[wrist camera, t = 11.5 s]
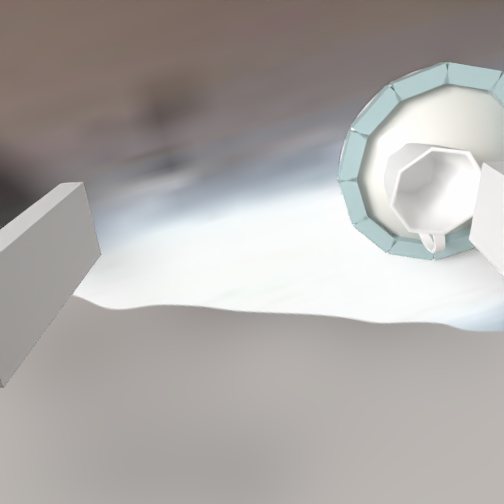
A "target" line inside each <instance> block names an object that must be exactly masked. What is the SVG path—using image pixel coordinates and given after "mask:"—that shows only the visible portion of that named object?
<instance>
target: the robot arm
mask: <svg viewBox="0 0 504 504" xmlns="http://www.w3.org/2000/svg"><path fill="white" fill-rule="evenodd" d="M469 240H470V242H471V243H472V244H473V245H474V246H475V247H476V248H477V249H478V250H479V251H480V252H481V253H482V254H483V255H484V256H485V257H486V259H487V260H488V261H489V262H490V263H491V264H492V265H493V266H494V267H495V268H496V269H497V270H498V271H499V272H500V273H501V274H502V276H503V277H504V161H497V162H483V165H482V170H481V176H480V181H479V187H478V192H477V198H476V203H475V208H474V214H473V219H472V225H471V230H470V236H469ZM100 255H101V252H100V248H99V244H98V240H97V236H96V232H95V228H94V224H93V220H92V216H91V212H90V208H89V203H88V199H87V195H86V191H85V187H84V183H83V182H73V183H61V184H59V185H58V186H57V187H55V188H54V189H53V190H51V191H50V192H49V193H47V194H46V195H45V196H44V197H42V198H41V199H40V200H38V201H37V202H36V203H34V204H33V205H32V206H30V207H29V208H28V209H26V210H25V211H24V212H23V213H21V214H20V215H19V216H17V217H16V218H15V219H13V220H12V221H11V222H9V223H8V224H7V225H5V226H4V227H3V228H2V229H0V388H2V387H5V386H6V384H7V383H8V381H9V380H10V378H11V377H12V376H13V374H14V373H15V372H16V370H17V369H18V368H19V366H20V365H21V363H22V362H23V361H24V359H25V358H26V357H27V355H28V354H29V353H30V351H31V350H32V348H33V347H34V346H35V344H36V343H37V341H38V340H39V339H40V338H41V336H42V335H43V333H44V332H45V331H46V329H47V328H48V326H49V325H50V324H51V322H52V321H53V320H54V318H55V317H56V316H57V314H58V313H59V311H60V310H61V309H62V307H63V306H64V305H65V303H66V302H67V300H68V299H69V298H70V296H71V295H72V294H73V292H74V291H75V289H76V288H77V287H78V285H79V284H80V283H81V281H82V280H83V278H84V277H85V276H86V274H87V273H88V272H89V270H90V269H91V267H92V266H93V265H94V263H95V262H96V261H97V259H98V258H99V257H100Z"/></svg>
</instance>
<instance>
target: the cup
mask: <svg viewBox="0 0 504 504" xmlns="http://www.w3.org/2000/svg"><path fill="white" fill-rule="evenodd" d="M382 174H383V175H384V188H385V191H386V194H387V198H388V202H389V205H390V207H391V208H392V210H393V211H394V213H395V214H396V215H397V217H398V218H399V219H400V221H401V222H402V224H403V225H404V226H405V228H406V229H407V230H408V232H413V233H418V234H419V236H420V239H421V241H422V243H423V244H424V246H425V247H426V249H427V250H428V251H430V252H431V253H437V252H441V251H443V250H444V249H445V234H447V233H448V232H450V231H451V230H453V229H454V228H456V227H457V226H459V225H461V224H462V223H464V222H465V221H467V220H468V219H470V218H472V217H473V214H474V208H475V203H476V198H477V192H478V187H479V181H480V176H481V169H480V167H479V165H478V164H477V162H476V160H475V159H474V157H473V156H472V154H471V152H470V151H466V150H461V149H455V148H449V147H444V146H439V145H430V144H420V143H409V142H402V143H400V144H399V145H397V146H396V147H395V148H393V149H392V150H391V151H389V152H388V153H387V154H386V156H385V160H384V164H383V169H382ZM429 234H433V239H434V242H433V241H432V239H431V237H430V235H429Z"/></svg>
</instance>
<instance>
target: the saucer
mask: <svg viewBox="0 0 504 504" xmlns="http://www.w3.org/2000/svg"><path fill="white" fill-rule="evenodd" d="M501 72H502V71H498V70H492V69H486V68H480V67H474V66H468V65H462V64H456V63H450V62H444V63H441V62H440V63H438V64H435V65H433V66H430V67H426V68H422V69H419V70H416V71H413V72H411V73H408V74H406V75H404V76H402V77H400V78H398V79H396V80H395V81H392V82H390V84H388V85H385V87H384V88H383V89H382V90H381V91H379V92H378V93H377V94H376V95H375V96H374V97H373V98H372V99H371V100H370V101H369V102H368V103H367V104H366V105H365V106H364V107H363V109H362V110H361V111H360V113H359V114H358V115H357V117H356V118H355V120H354V122H353V123H352V124H351V125H350V126H351V127H350V129H348V133H347V135H346V138H345V140H344V144H343V147H342V150H341V155H340V161H339V170H338V174H337V177H338V178H339V179H337V180H338V183H339V187H340V190H341V194H342V198H343V200H344V203H345V205H346V209H347V212H348V215H349V218H350V221H351V223H352V224H353V226H354V227H355V228H356V229H357V230H358V231H360V232H361V233H362V234H363V235H365V236H366V237H367V238H368V239H370V240H371V241H372V242H373V243H375V244H376V245H377V246H378V247H379V248H381V249H382V250H383V251H384V252H387V251H388V253H389V254H392V255H398V256H405V257H412V258H419V259H426V260H432V259H433V258H434V259H435V260H437V259H441V258H444V257H447V256H450V255H453V254H457V253H460V252H463V251H466V250H469V249H472V248H476V247H475V246H474V245H473V244H472V243H471V242H470V240H469V236H470V230H471V225H472V219H473V217H472V218H470V219H468V220H467V221H465V222H464V223H462V224H461V225H459V226H457V227H456V228H454V229H453V230H451V231H450V232H448V233H447V234H445V249H444V250H443V251H441V252H437V253H431V252H430V251H428V250H427V249H426V247H425V246H424V244H423V243H422V241H421V239H420V236H419V234H418V233H413V232H408V230H407V229H406V228H405V226H404V225H403V224H402V222H401V221H400V219H399V218H398V217H397V215H396V214H395V213H394V211H393V210H392V208H391V207H390V205H389V202H388V198H387V194H386V191H385V188H384V175H383V174H382V169H383V164H384V160H385V156H386V154H387V153H388V152H389V151H391V150H392V149H393V148H395V147H396V146H397V145H399V144H400V143H402V142H409V143H420V144H430V145H439V146H444V147H449V148H455V149H461V150H466V151H470V152H471V154H472V156H473V157H474V159H475V160H476V162H477V164H478V165H479V167H480V169H481V170H482V165H483V162H497V161H504V73H501ZM429 235H430V237H431V239H432V241H433V242H434V239H433V234H429Z"/></svg>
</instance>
